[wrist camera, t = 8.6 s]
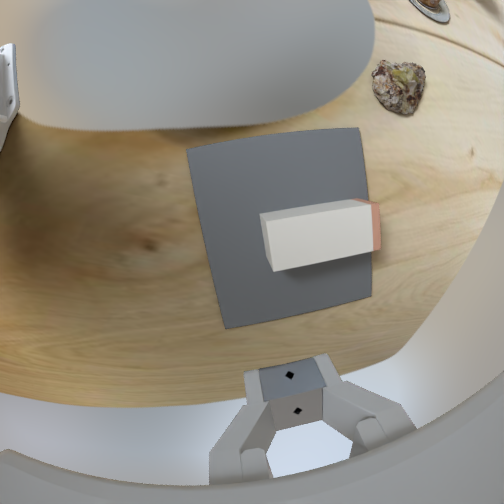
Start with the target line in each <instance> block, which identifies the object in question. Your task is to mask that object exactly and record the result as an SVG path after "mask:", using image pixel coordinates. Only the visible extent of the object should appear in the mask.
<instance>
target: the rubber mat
mask: <svg viewBox="0 0 504 504" xmlns="http://www.w3.org/2000/svg"><path fill="white" fill-rule="evenodd" d="M186 151H187V157H188V162H189V168H190V173H191V179H192V184H193V189H194V194H195V199H196V204H197V209H198V214H199V219H200V223H201V228H202V233H203V237H204V242H205V246H206V251H207V255H208V260H209V264H210V268H211V273H212V277H213V281H214V285H215V289H216V294H217V298H218V302H219V306H220V310H221V314H222V318H223V321H224V325H225V329H229V328H234V327H240V326H245V325H251V324H256V323H261V322H266V321H271V320H276V319H281V318H285V317H290V316H294V315H299V314H303V313H308V312H312V311H316V310H320V309H324V308H328V307H332V306H336V305H340V304H344V303H348V302H352V301H355V300H359V299H363V298H366V297H370V296H371V285H372V267H371V252H366V253H362V254H357V255H353V256H348V257H343V258H339V259H334V260H329V261H324V262H320V263H315V264H310V265H305V266H300V267H295V268H290V269H285V270H280V271H275V272H273V269H272V267H271V265H270V263H269V261H268V259H267V257H266V251H265V245H264V239H263V233H262V227H261V220H260V214H261V213H267V212H273V211H279V210H284V209H290V208H297V207H303V206H309V205H315V204H322V203H328V202H335V201H342V200H349V199H356V198H359V199H363V200H367V201H368V193H367V183H366V174H365V166H364V159H363V152H362V145H361V139H360V133H359V128H335V129H320V130H307V131H296V132H287V133H278V134H270V135H263V136H256V137H249V138H243V139H237V140H231V141H225V142H220V143H214V144H209V145H204V146H200V147H195V148H190V149H186Z"/></svg>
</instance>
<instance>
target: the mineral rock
mask: <svg viewBox="0 0 504 504" xmlns="http://www.w3.org/2000/svg"><path fill="white" fill-rule="evenodd" d="M424 72H425V71H424V69H423V67H421V66H420V65H416V64H413V63H406V62H404V63H402V64H397V63H389V62H388V61H385V60H382V61H381V62H380V64H377V67H376V69H375V71H373V72H372V74H371V75H372V76H373V77H374V81H373V85H372V86H373V90H374V92H375V96H377V98H378V99H379V101H380V102H382V103H383V104H384V106H385V107H386V109H387V110H393V111H394V112H399V113H403V114H408V113H413V111H414V109H415V107H416V106H417V105H418V100H420V97H421V93H422V91H423V87H424V86H423V85H424V80H425V78H426V76H425V73H424Z"/></svg>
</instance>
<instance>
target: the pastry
mask: <svg viewBox="0 0 504 504" xmlns="http://www.w3.org/2000/svg"><path fill="white" fill-rule="evenodd" d="M410 1H411V3H412V4H413V5H415V6H416V7H417V8H418V9H419V10H421V11H422V12H423V13H424V14H425V15H426V16H428V17H430V18H432V19H434V20H436V21H439V22H447V21H448V20H449V18H450V13H449V9H448V6H447V4H446V3H445V1H444V0H418V1H419V2H420V3H421V4H422V5H424V6H426V7H428V8H431V9H438V8H439V7H440V12H439V13H438V14H433V13H430V12H428V11H427V10H425V9H424V8H422V7H421V6H420V5H419V4H418V3H417V2H416V1H415V0H410Z"/></svg>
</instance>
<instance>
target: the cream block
mask: <svg viewBox="0 0 504 504" xmlns="http://www.w3.org/2000/svg"><path fill="white" fill-rule="evenodd" d="M260 220H261V227H262V233H263V239H264V245H265V251H266V257H267V259H268V261H269V263H270V265H271V267H272V269H273V272H275V271H280V270H285V269H290V268H295V267H300V266H305V265H310V264H315V263H320V262H324V261H329V260H334V259H339V258H343V257H348V256H353V255H357V254H362V253H366V252H371V251H375V250H380V249H381V233H380V213H379V203H375V202H371V201H367V200H363V199H359V198H356V199H349V200H342V201H335V202H328V203H322V204H315V205H309V206H303V207H297V208H290V209H284V210H279V211H273V212H267V213H261V214H260Z"/></svg>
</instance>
